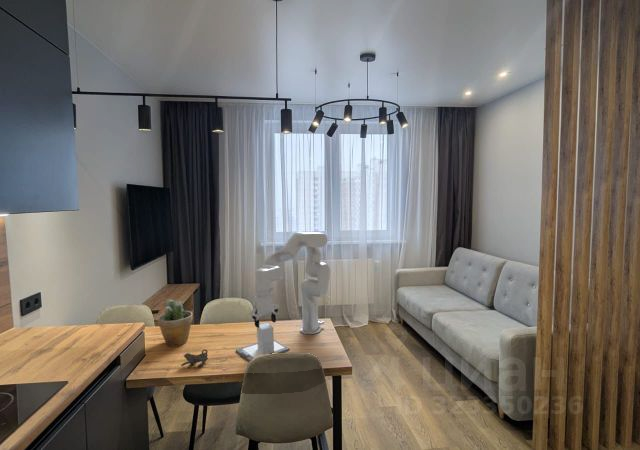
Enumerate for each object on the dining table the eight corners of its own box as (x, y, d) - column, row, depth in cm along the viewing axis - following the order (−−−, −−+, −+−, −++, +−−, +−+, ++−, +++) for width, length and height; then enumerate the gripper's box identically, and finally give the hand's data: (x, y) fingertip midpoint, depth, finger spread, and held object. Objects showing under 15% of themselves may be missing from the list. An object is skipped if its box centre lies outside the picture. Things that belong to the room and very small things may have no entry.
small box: (274, 351, 176) (273, 327, 175) (262, 354, 172) (261, 329, 171) (268, 346, 182) (267, 322, 182) (257, 348, 179) (256, 324, 178)
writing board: (271, 339, 193) (271, 336, 193) (289, 350, 180) (289, 346, 179) (235, 351, 180) (235, 347, 179) (252, 363, 166) (252, 359, 166)
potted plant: (151, 345, 189) (149, 301, 187) (179, 333, 206) (177, 293, 204) (174, 351, 181) (171, 305, 179) (201, 338, 197) (199, 296, 195)
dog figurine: (208, 361, 169) (208, 346, 169) (207, 366, 164) (206, 351, 163) (183, 363, 167) (183, 348, 167) (180, 369, 162) (180, 354, 161)
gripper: (274, 287, 183) (275, 318, 185) (245, 294, 172) (247, 327, 174) (281, 290, 178) (283, 321, 179) (252, 297, 167) (254, 331, 168)
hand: (265, 324), depth 177 cm, fingers open, 9 cm apart
